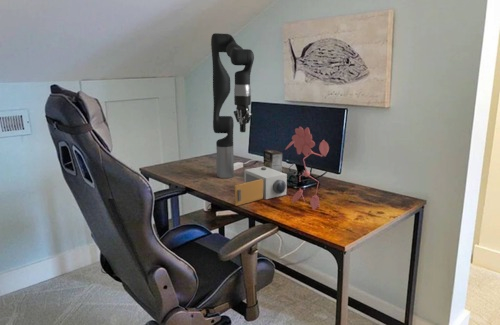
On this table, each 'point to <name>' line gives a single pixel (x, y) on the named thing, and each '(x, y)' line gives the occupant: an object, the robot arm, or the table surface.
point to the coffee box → (273, 159)
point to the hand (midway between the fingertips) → (242, 132)
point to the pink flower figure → (304, 145)
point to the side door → (249, 192)
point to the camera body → (268, 180)
